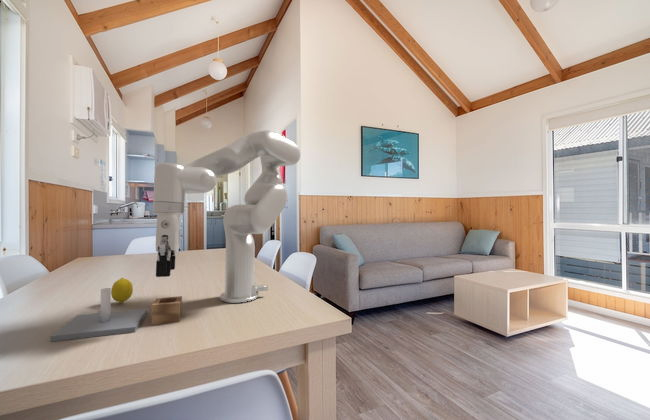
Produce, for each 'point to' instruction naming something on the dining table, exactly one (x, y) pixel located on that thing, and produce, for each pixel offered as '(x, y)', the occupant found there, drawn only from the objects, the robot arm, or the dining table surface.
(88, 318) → the grey peg board
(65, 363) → the dining table surface
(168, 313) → the brown wooden hollow block
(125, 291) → the lemon
